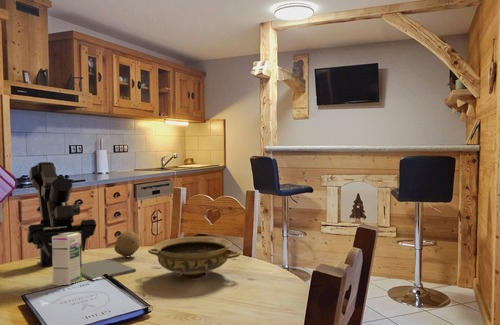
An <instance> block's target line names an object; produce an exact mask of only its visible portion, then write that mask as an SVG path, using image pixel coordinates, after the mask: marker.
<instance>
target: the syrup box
mask: <svg viewBox="0 0 500 325" xmlns="http://www.w3.org/2000/svg"><path fill="white" fill-rule="evenodd" d="M82 260H83V259H82V248H81V233H79V232H71V233H64V234H60V235H56V236H52V264H53V265H52V285H53V286H59V287H62V286H61V285H66V284H71V283H74V284H76V283H78V282H80V281H82V280H83V276H82V264H83V262H82ZM75 282H76V283H75Z"/></svg>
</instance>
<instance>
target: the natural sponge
mask: <svg viewBox="0 0 500 325" xmlns="http://www.w3.org/2000/svg"><path fill="white" fill-rule="evenodd" d="M140 246H141V240H140V238H139V235H138V234H137V233H136V232H134V231H132V230H126V231H125V230H124V231H123V232H122V233H120V234H119V236H118V237H117V239H116V241H115V244H114V252H116V253H117V254H118V255H120V256H122V257H124V256H130V257H132V256H133V255H134V254H135V253H137V251H138V250H139V248H140ZM131 255H132V256H131Z"/></svg>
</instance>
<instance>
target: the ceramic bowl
mask: <svg viewBox="0 0 500 325" xmlns="http://www.w3.org/2000/svg"><path fill="white" fill-rule="evenodd" d="M232 245H233V243H232V241H230V240H229V239H225V238H223V237H214V236H183V237H177V238H176V237H175V238H171V239H170V238H169V239H166V240H163V241H160V242H158V243H156V244H154V246H153V248H148V250H147V251H148V253H149V254H151V255H154V256H156V257H157V261H158V263H159V265H160V266H161V268H164V269H165V270H167V271H170V272H172V273H177V274H180V277H181V278H182V279H186V280H195V279H196V280H197V279H202V278H205V277H206V276H207V275H208V274H207V272H210V271H213V270H215V269H216V270H217V269H218V268H220V267H221V266H223V265H224V264H225V263H226V262H227V261H228V259H233V258H234V259H235V258H238V257H239V256H241V252H240V251H228V249H230V248H231V247H232Z"/></svg>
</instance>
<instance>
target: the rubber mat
mask: <svg viewBox="0 0 500 325" xmlns="http://www.w3.org/2000/svg"><path fill="white" fill-rule="evenodd" d="M136 271H137V270H136V268H134V267H131V266H129V265H126V264H123V263H121V262H117V261H115V260H113V259H109V258H107V259H101V260H95V261H92V262H91V261H90V262H85V263H82V277H84V278H86V279H88V280H90V278H94V277H98V276H101V275H104V274H108V275H110V276H112V277H116V276H121V275H125V274H130V273H135V272H136ZM112 277H111V278H112Z"/></svg>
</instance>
